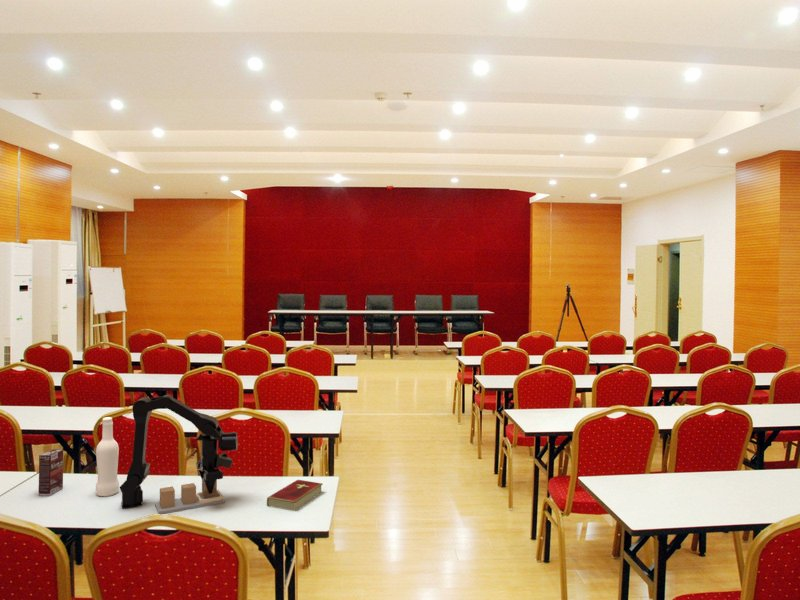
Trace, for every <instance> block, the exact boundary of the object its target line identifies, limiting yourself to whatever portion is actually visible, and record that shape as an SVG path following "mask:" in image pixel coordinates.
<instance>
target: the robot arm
mask: <svg viewBox="0 0 800 600" xmlns="http://www.w3.org/2000/svg"><path fill="white" fill-rule="evenodd" d="M162 408H166V409H168V410H169V411H171V412H172V413H175V414H176V415H178V416H179V417H182V418H183V419H185V420H187V421H188V422H190V423H191V424H193V425H194V426H195V428H196V429H197V430H198V431H199V432H200V434H199V435H198V436H197V437H196V439H195V440H196V441H201V452H200V454H199V455H200V457H201V459H198V460H197V461H196V462H195V467H196V469H197V471H198V474H199V475H200V478H201V479H202V478H203V480H204V482H205V485H206V487H207V490H208V492H209V494H211V493H212V492H213V488H214V485H215V481H216V480H217V481H218V480H221V479H222V480H223V479H224V473H223V472H222V470H221V469H220V467H223V468H226V469H231V466H232V464H233V461H234V460H233V459H232V458H231V457H230V456H228V454H227V453H226V452H225V451H228V452H229V451H238V446H239V445H238V444H239V442H238V441H239V439H238V433H237V431H232V432H224V430H223V429H222V428H221V426H220V425H219V421H218V419H217V418H216V417H214V416H212V415H209V414H205V413H201V412H198V411H197V410H195V409H194V408H192V407H190V406H188V405H187V404H185V403H183V402H181V401H180V400H178V399H176V398H175V397H173V396H172V395H170V394H165V395H162V396H161V395H160V396H156V397H147V396H144V397H141V398H140V399H138V400H137V401H135V402H133V405H132V416H133V420H134V426H135V427H134V437H133V447H132V448H133V449H132V459H131V463H130V466H129V469H128V472H127V475H126V479H125V480H124V482H123V483H122V484H121V485H119V490H120V492H121V502H120V504H121V509H128V508H134V507H140V506H142V505H143V502H144V500H143V499H144V495H143V494H144V492H143V491H144V490H143V489H142V486H141V485H142V483H143V482H144V481H145V480H146V479H147V477H148V476H149V475H150V466H151V463H150V462H146V450H147V441H148V440H147V439H148V438H147V437H148V428H149V426H148V425H149V420H150V419H151V418H150V417H151V415H152V412H153V411H155V410H159V409H162ZM218 449H219V450H221V451H222V453H221V454H219V453H218ZM223 451H224V452H223Z"/></svg>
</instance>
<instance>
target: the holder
mask: <svg viewBox="0 0 800 600" xmlns="http://www.w3.org/2000/svg"><path fill="white" fill-rule="evenodd" d="M180 488H181V489H180V496H181V497H180V498H179V497H178V498H175V497H176V495H175V494H176V490H175V488H174V486H172V485H171V486H166V487H160V488H159V501H157V502H154V506H155V509H156V511H157V514H158V513H159V514H160V515H164V514H170V513H176V512H182V511H187V510H192V509H198V508H203V507H204V508H205V507H209V506H213V505H219V504H220V505H221V504H225V499H224V495H223V494H222V493H221V491H220V490H219V489H217V496H211V497H206V498H204V496H203V495H202V491H201V492H197V485H196V484H195V482H192V483H191V482H190V483H185V484H181V487H180ZM159 514H158V515H159Z"/></svg>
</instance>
